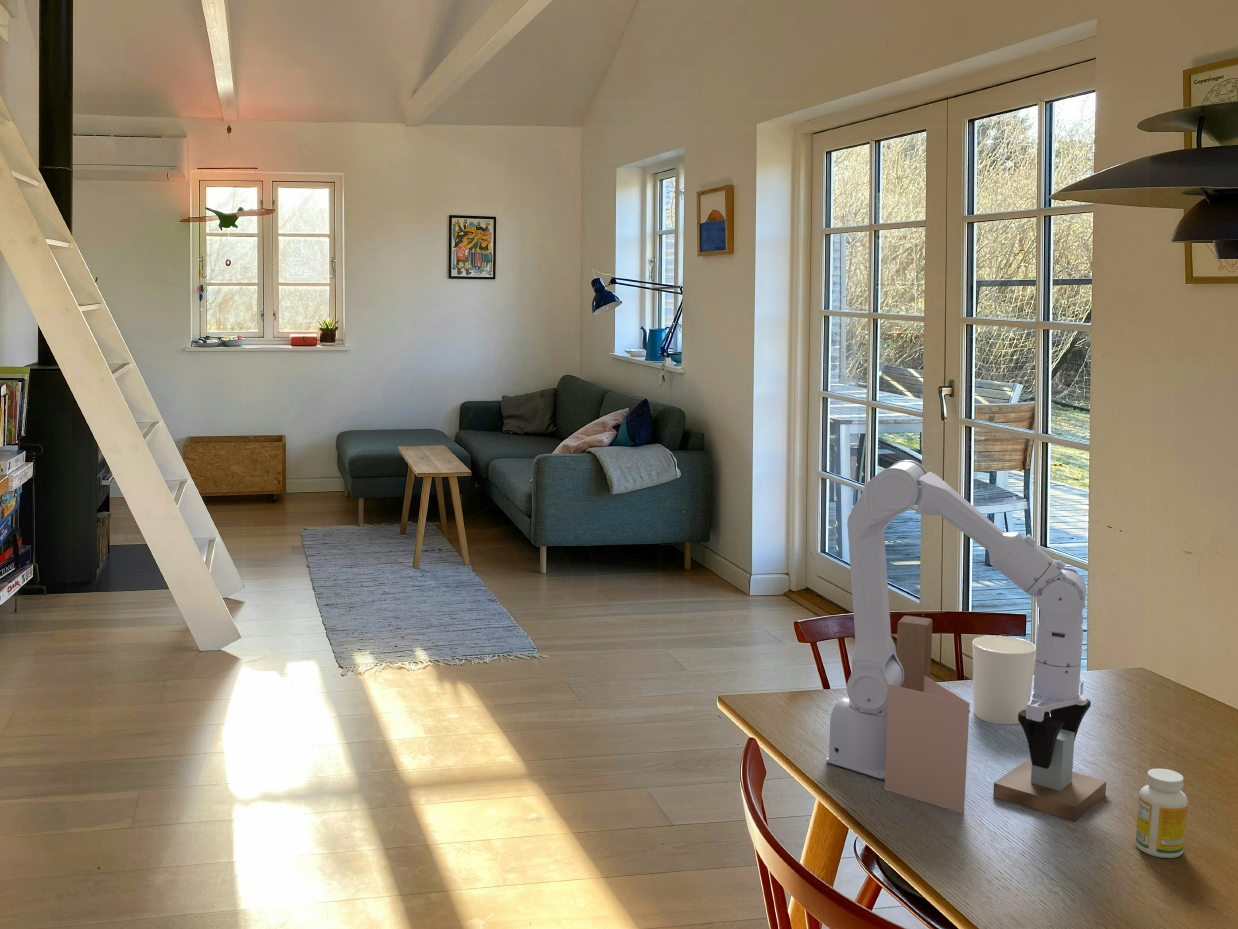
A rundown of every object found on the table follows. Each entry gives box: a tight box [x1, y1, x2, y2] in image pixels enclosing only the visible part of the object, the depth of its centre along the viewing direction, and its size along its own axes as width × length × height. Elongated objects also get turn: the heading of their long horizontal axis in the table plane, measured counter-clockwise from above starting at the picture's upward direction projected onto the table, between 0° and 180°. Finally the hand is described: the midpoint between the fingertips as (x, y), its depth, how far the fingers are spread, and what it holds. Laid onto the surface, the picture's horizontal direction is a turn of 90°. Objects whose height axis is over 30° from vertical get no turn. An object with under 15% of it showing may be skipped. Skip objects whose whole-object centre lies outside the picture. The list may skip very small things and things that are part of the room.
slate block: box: [1031, 729, 1076, 791], centre depth 156 cm, size 4×4×7 cm
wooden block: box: [896, 615, 934, 692], centre depth 178 cm, size 9×4×18 cm, turn 64°
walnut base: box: [992, 759, 1107, 822], centre depth 157 cm, size 11×11×2 cm
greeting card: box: [884, 676, 971, 814], centre depth 155 cm, size 11×7×15 cm, turn 15°
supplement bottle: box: [1135, 768, 1189, 859], centre depth 142 cm, size 5×5×10 cm
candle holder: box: [971, 635, 1036, 726], centre depth 187 cm, size 10×10×12 cm
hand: (1051, 758), depth 156 cm, fingers open, 7 cm apart
